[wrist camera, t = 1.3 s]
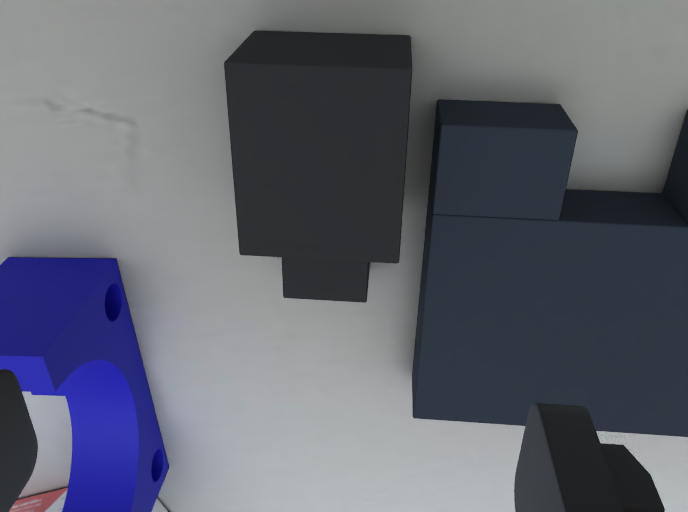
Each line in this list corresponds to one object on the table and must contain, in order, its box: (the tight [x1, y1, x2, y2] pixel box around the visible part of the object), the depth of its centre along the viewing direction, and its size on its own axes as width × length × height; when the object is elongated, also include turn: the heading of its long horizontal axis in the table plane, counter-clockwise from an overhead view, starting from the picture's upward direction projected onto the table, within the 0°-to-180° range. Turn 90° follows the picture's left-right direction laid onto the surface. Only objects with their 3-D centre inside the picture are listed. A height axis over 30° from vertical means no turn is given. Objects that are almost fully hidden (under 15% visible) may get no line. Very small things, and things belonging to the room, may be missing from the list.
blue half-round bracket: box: [0, 257, 169, 512], centre depth 26 cm, size 12×4×6 cm, turn 2°
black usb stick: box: [224, 31, 412, 302], centre depth 21 cm, size 9×5×4 cm, turn 179°
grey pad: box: [412, 100, 688, 437], centre depth 23 cm, size 12×12×2 cm
